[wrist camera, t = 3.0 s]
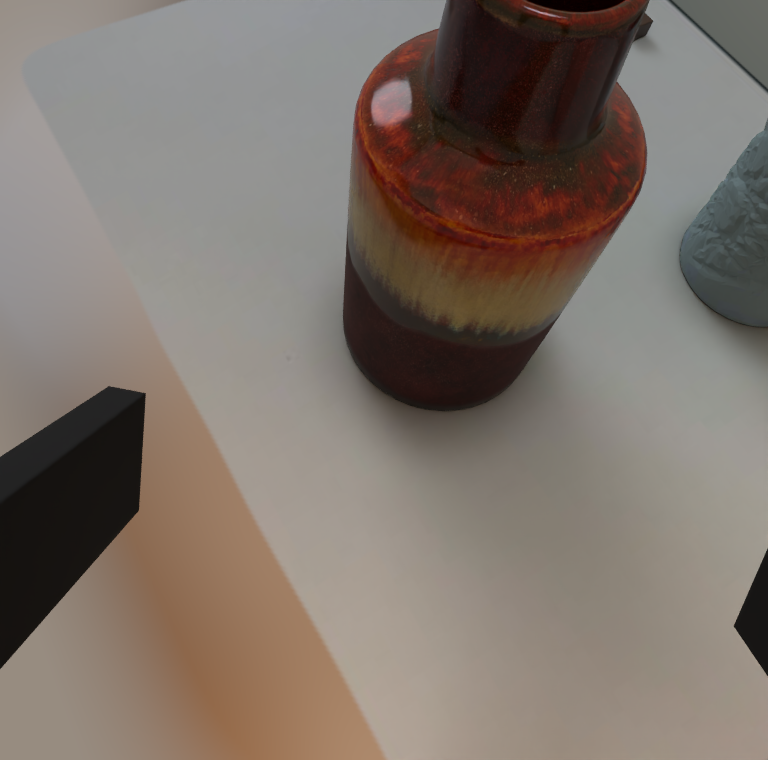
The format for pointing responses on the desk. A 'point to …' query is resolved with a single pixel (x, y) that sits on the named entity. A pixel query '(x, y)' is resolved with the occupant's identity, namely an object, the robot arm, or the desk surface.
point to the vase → (485, 190)
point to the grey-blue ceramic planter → (733, 241)
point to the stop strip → (644, 26)
